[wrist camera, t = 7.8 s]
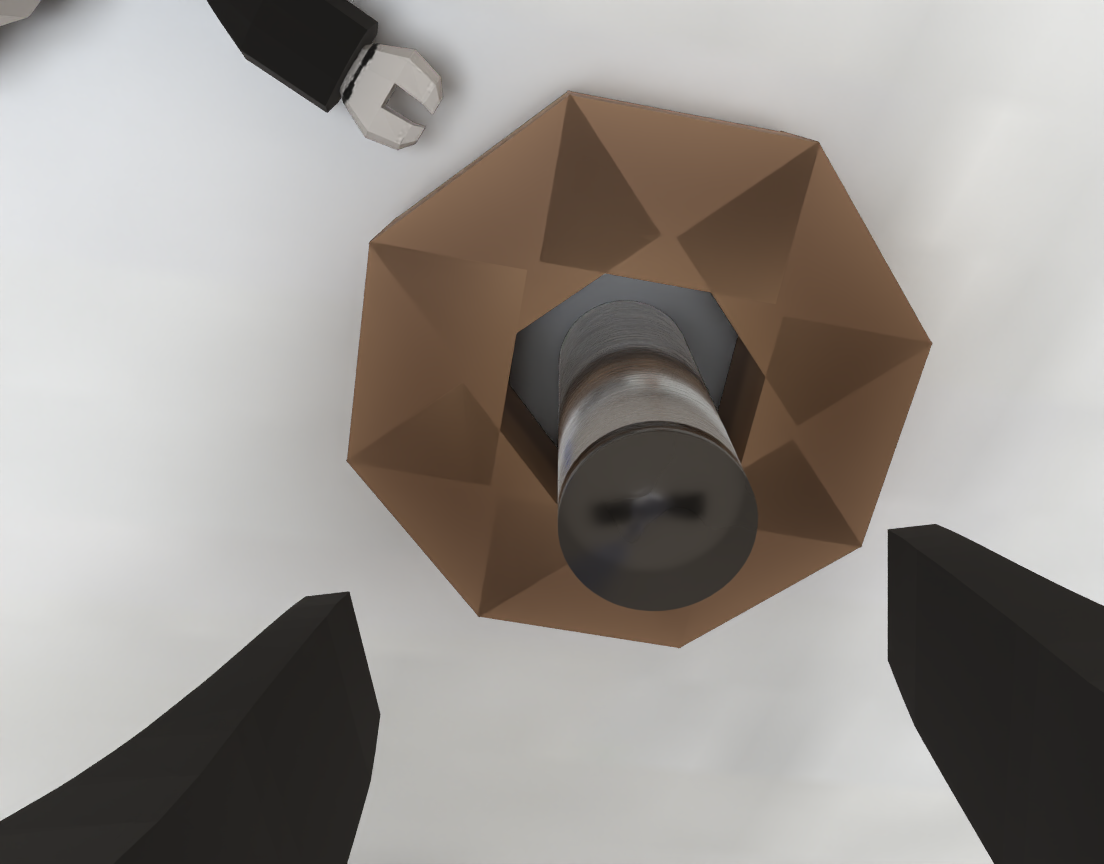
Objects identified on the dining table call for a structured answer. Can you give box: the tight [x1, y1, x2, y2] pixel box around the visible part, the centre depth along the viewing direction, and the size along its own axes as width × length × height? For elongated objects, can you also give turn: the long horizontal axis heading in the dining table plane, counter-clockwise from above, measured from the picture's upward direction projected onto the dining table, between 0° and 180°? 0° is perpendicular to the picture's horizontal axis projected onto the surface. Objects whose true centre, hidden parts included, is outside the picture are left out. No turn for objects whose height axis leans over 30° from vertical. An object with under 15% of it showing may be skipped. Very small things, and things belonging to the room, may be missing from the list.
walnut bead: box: [346, 91, 932, 648], centre depth 20 cm, size 11×11×3 cm
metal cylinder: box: [558, 300, 758, 611], centre depth 17 cm, size 3×3×8 cm
